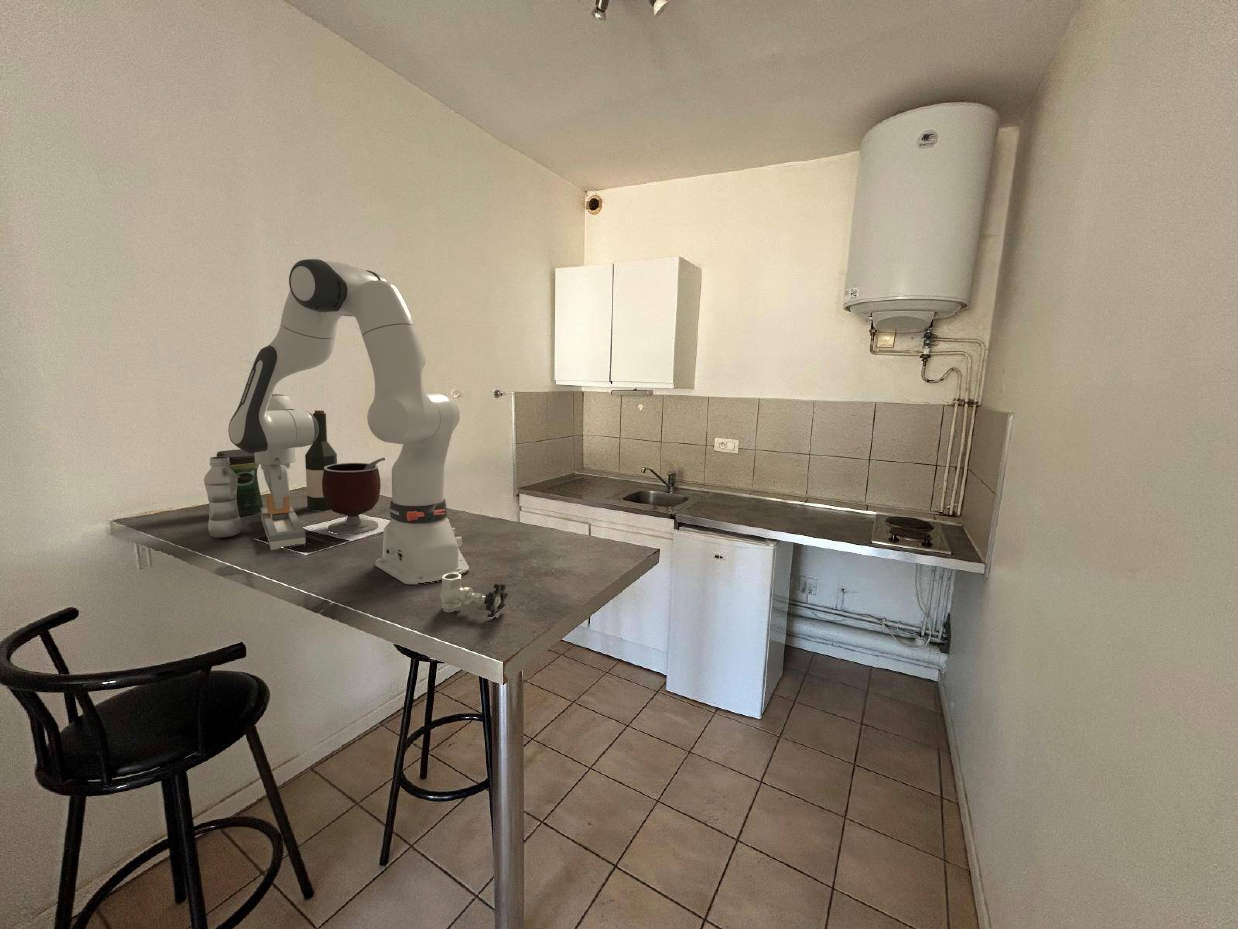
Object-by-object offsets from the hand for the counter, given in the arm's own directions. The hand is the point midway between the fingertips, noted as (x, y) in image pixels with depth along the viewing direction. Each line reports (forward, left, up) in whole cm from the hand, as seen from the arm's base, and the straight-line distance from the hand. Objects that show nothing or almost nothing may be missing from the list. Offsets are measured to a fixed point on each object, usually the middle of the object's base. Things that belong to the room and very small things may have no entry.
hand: (278, 506), depth 132 cm
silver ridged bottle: (-4, +11, -6) cm, 13 cm away
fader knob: (0, 0, -3) cm, 3 cm away
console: (-6, 0, -5) cm, 8 cm away
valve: (-74, -23, -6) cm, 77 cm away
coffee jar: (+18, +7, -6) cm, 20 cm away
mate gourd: (-11, -17, -6) cm, 21 cm away
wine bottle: (+15, -13, -6) cm, 20 cm away
